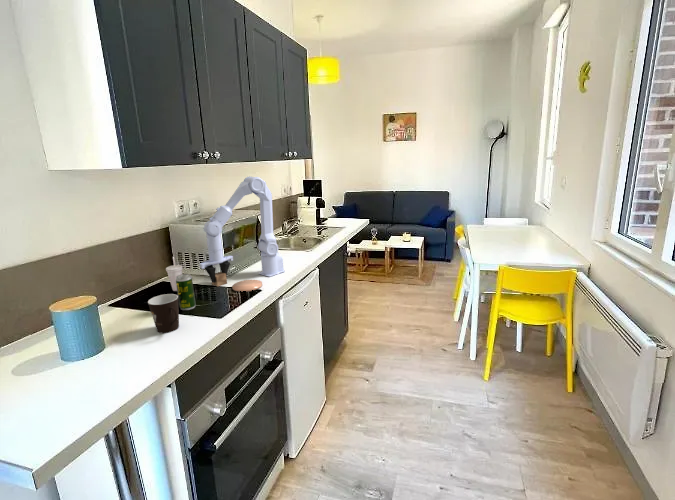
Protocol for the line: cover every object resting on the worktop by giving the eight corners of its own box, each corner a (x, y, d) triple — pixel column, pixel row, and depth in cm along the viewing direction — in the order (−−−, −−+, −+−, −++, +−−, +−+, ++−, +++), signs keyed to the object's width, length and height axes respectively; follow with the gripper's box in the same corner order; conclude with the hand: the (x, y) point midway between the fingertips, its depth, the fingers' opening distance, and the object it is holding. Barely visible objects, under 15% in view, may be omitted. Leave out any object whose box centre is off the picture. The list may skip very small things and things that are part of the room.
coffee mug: (153, 325, 118) (148, 297, 115) (182, 320, 121) (178, 292, 118) (151, 341, 107) (146, 310, 105) (183, 335, 111) (178, 304, 108)
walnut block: (221, 281, 158) (220, 271, 157) (227, 283, 155) (225, 273, 154) (212, 284, 155) (210, 274, 154) (217, 286, 152) (216, 276, 151)
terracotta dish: (250, 280, 158) (250, 277, 158) (268, 285, 151) (268, 283, 151) (226, 288, 150) (226, 285, 149) (244, 294, 142) (244, 291, 142)
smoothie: (188, 286, 153) (184, 254, 150) (181, 292, 147) (175, 259, 143) (174, 286, 154) (169, 254, 150) (166, 292, 148) (160, 259, 144)
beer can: (183, 305, 134) (178, 274, 131) (198, 304, 134) (193, 273, 131) (177, 311, 129) (172, 279, 126) (193, 310, 129) (188, 278, 126)
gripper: (225, 244, 159) (228, 274, 162) (194, 252, 148) (198, 283, 152) (234, 246, 154) (237, 277, 158) (203, 254, 144) (207, 286, 147)
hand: (219, 280), depth 154 cm, fingers closed on walnut block, 4 cm apart
